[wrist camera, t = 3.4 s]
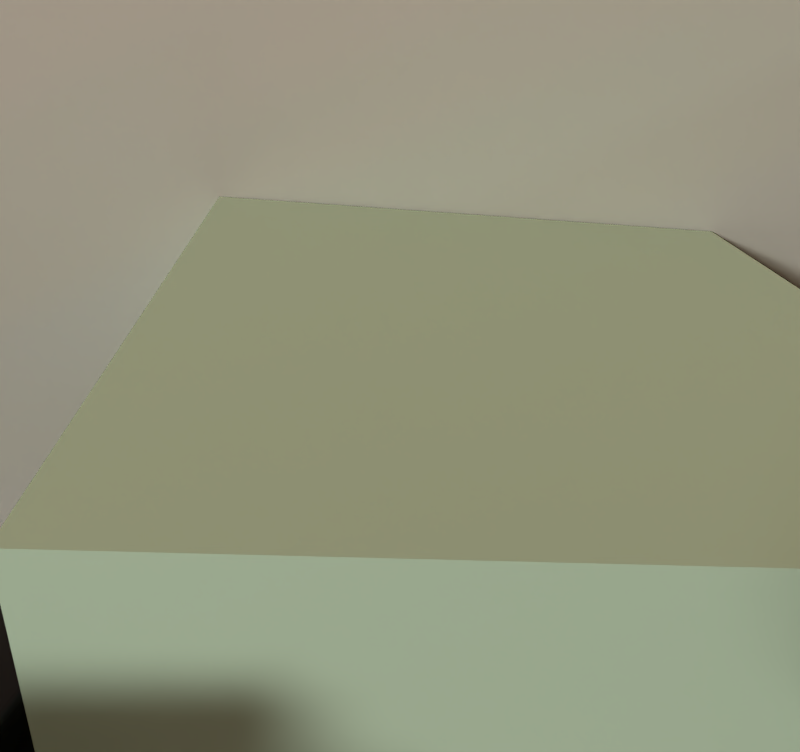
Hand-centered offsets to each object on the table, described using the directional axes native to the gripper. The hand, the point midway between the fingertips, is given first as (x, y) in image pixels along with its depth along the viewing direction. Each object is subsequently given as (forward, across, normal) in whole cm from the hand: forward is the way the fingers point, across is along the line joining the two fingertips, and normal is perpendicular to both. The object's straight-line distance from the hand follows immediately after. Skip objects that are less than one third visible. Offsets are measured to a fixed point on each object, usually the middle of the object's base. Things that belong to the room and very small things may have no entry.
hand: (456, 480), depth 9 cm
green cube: (+1, 0, 0) cm, 1 cm away
